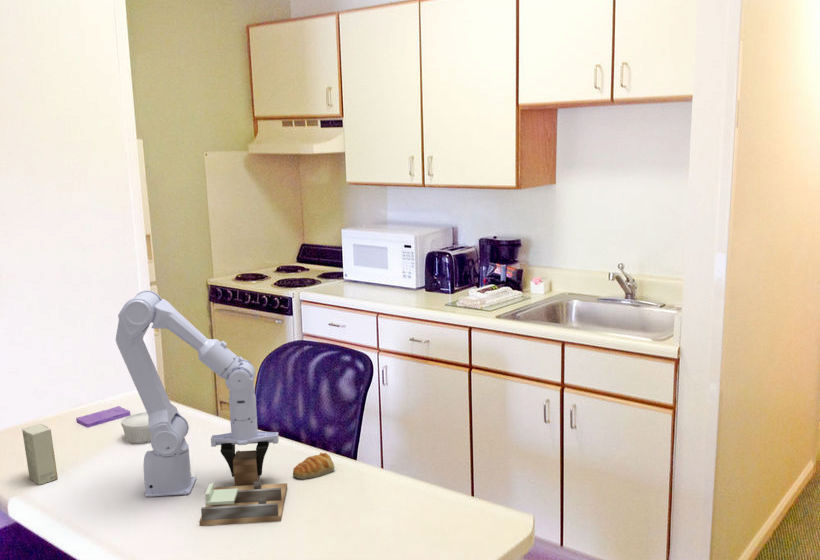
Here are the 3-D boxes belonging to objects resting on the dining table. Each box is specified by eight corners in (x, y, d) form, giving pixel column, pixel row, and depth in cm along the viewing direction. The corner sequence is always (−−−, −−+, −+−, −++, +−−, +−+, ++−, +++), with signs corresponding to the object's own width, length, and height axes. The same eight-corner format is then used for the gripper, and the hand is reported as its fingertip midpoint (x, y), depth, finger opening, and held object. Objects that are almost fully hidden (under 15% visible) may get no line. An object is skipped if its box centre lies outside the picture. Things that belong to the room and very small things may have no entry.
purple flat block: (131, 417, 213) (130, 410, 213) (87, 429, 204) (86, 423, 204) (119, 411, 218) (119, 405, 217) (76, 423, 209) (75, 417, 208)
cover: (205, 505, 149) (204, 495, 149) (210, 492, 155) (210, 482, 154) (233, 503, 150) (233, 493, 149) (238, 491, 155) (237, 481, 155)
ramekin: (151, 426, 204) (149, 408, 203) (176, 434, 197) (175, 415, 197) (114, 440, 195) (112, 420, 194) (139, 449, 189) (137, 429, 188)
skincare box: (58, 479, 172) (52, 429, 170) (38, 486, 169) (32, 434, 167) (47, 471, 176) (41, 422, 174) (27, 478, 173) (21, 428, 171)
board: (199, 525, 149) (198, 509, 148) (213, 491, 163) (212, 477, 163) (280, 520, 150) (279, 505, 149) (287, 487, 164) (286, 473, 164)
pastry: (303, 484, 166) (302, 468, 166) (286, 475, 171) (285, 459, 171) (337, 471, 172) (336, 455, 172) (320, 463, 177) (319, 448, 177)
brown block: (234, 486, 165) (232, 460, 164) (238, 476, 170) (236, 451, 168) (257, 484, 165) (255, 459, 164) (260, 475, 170) (258, 450, 169)
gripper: (206, 424, 160) (210, 483, 163) (274, 421, 161) (278, 480, 164) (212, 413, 167) (216, 470, 169) (278, 410, 168) (281, 466, 170)
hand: (247, 474), depth 167 cm, fingers closed on brown block, 5 cm apart
